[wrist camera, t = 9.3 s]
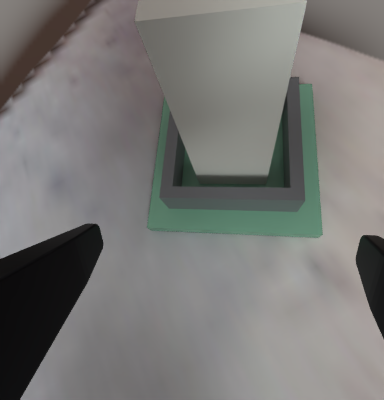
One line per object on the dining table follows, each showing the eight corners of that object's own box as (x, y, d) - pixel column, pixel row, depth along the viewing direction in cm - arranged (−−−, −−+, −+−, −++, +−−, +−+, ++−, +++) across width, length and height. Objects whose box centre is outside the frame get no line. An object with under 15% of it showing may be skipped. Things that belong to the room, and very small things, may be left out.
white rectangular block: (266, 184, 19) (307, 2, 7) (199, 183, 20) (134, 21, 8) (265, 125, 21) (298, -111, 9) (203, 127, 22) (154, -83, 9)
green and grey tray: (318, 237, 18) (334, 226, 15) (151, 230, 21) (134, 219, 17) (308, 92, 22) (320, 58, 19) (167, 99, 24) (156, 70, 21)
